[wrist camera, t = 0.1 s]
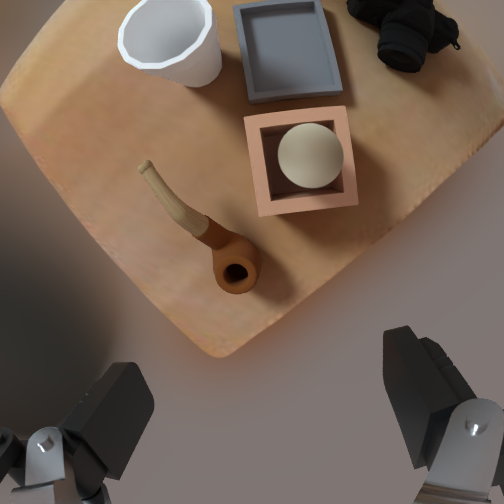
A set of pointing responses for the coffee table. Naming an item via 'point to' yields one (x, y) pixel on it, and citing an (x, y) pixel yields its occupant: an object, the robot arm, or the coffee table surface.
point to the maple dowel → (310, 155)
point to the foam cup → (172, 40)
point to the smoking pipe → (210, 238)
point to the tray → (286, 50)
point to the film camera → (406, 30)
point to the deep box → (276, 182)
